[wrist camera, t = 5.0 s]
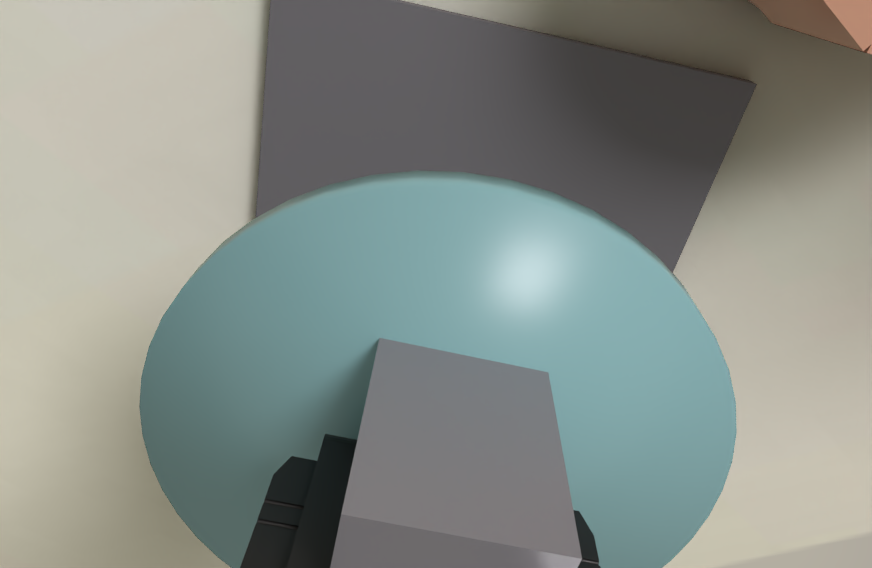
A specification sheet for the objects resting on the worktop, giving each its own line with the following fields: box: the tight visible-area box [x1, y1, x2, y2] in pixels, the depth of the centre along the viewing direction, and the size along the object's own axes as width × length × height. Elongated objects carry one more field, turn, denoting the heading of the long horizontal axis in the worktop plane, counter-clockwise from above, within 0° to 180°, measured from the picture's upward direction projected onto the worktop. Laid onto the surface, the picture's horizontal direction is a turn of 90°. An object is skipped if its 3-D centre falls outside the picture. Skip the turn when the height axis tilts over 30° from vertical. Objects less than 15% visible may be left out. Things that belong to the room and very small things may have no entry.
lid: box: [140, 171, 736, 568], centre depth 12 cm, size 12×12×5 cm
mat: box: [256, 0, 757, 273], centre depth 21 cm, size 14×14×1 cm
